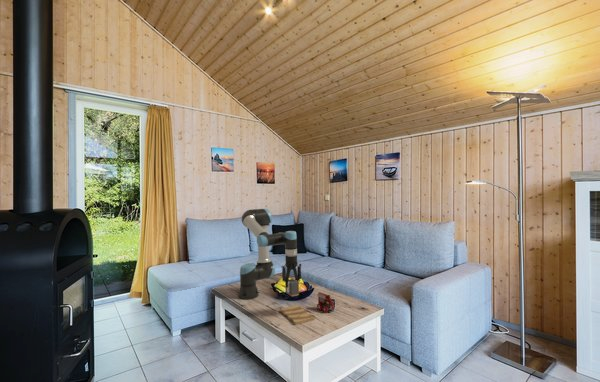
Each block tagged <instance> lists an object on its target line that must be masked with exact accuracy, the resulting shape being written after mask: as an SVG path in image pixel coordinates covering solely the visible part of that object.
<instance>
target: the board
mask: <svg viewBox="0 0 600 382" xmlns="http://www.w3.org/2000/svg"><path fill="white" fill-rule="evenodd" d="M280 312H281V313H282V315H284V316H285V317H286V318H287V319H288V320H290V322H292V323H293V324H294V325H295V326H297V325H301V324H304V323H308V322H312V321H315V320H316V318H315V316H313V315H312V314H311V313H310V312H308V311H307V310H306V309H304V308H303V307H301V306H300V304H299V305H298V304H296V305H293V306H288V307H284V308H280Z"/></svg>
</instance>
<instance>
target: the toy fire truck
mask: <svg viewBox="0 0 600 382" xmlns="http://www.w3.org/2000/svg"><path fill="white" fill-rule="evenodd" d="M317 297H318V298H317V299H318V303H317V304H316V309H317V310H318V311H322V312H323V313H329V311H333V310H334V308H335V307H334V306H335V305H334V301H333V298H331V294H327V293H323V292H320V291H319V292H318V293H317Z"/></svg>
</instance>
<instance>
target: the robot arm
mask: <svg viewBox="0 0 600 382" xmlns="http://www.w3.org/2000/svg"><path fill="white" fill-rule="evenodd" d="M272 220H273V215H272V213H271V211H270V210H269V209H268V208H256V209H247V210H246V211H245V212H243V214H242V215H241V223H242V225H243V226H244V227H245V228H248V230H249V231H250V232H251V233H252V234H253V235H254V236H255V238H256V244H257V257H258V259H257V260H256V263H255V262H254V263H253V262H249V263H245V264H243V265H241V266H240V268H239V278H240V279H239V282H240V283H239V284H240V286H239V291H238V294H237V297H238V298H239V299H241V300H252V299H256V298H257V297H259V294H260V293H259V289H258V287H257V281H261V280H265V279H267V280H269V279H272V278H273V277H274V275H275V272H276V266H275V263H274V262H273V261H272V259H271V258H270V247H272V246H278V245H284V247H285V251H284V253H285V264H284V265H281V272H282V275H281V277H282V281H283V282H284V283H285V285H284V286H285V288H286V287H287V292H288V293H290V288H289V282H288V280H289V279H290V274H291V272H292V271H293V276H294V278H295V279H294V280H295V281H297V282H299V281H300V280H301V279H302V264H301V263H299V262H298V246H297V245H298V242H297V241H298V239H297V232H296V230H295V231H294V230H288V231H285V232H281V231H280V232H278V233H270V234H269V227H270V224H271V223H272V222H273V221H272ZM288 293H287V294H288Z"/></svg>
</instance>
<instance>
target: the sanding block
mask: <svg viewBox="0 0 600 382" xmlns="http://www.w3.org/2000/svg"><path fill="white" fill-rule="evenodd" d="M295 280H296V279H294V278H289V280H288V282H289V288H290V293H288V292H287V287H286V286H285V293H286V294H287V295H288V296H291V297H297V296H300V295H299V294H300V287H299V284H300V283H299V281H298V282H297V281H295Z"/></svg>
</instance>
